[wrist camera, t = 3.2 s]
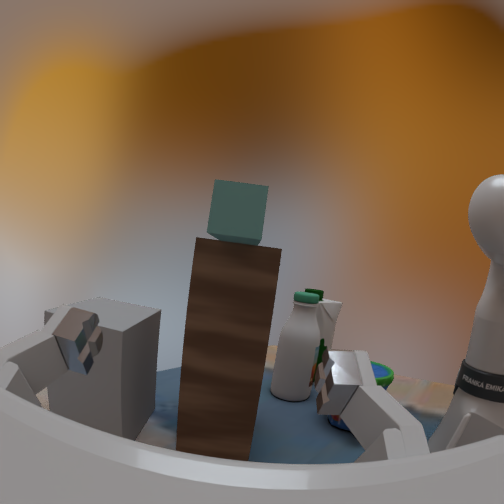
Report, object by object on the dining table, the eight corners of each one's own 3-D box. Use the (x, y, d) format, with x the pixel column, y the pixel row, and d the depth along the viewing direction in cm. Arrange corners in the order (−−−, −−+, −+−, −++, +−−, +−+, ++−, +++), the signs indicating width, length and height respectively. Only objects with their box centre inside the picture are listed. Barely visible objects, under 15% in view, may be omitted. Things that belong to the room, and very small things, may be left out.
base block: (123, 457, 27) (122, 331, 28) (53, 431, 27) (44, 310, 27) (154, 408, 41) (161, 309, 41) (97, 392, 41) (99, 297, 41)
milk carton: (278, 372, 67) (292, 286, 67) (305, 367, 72) (319, 288, 73) (306, 385, 60) (322, 292, 60) (332, 378, 65) (348, 293, 66)
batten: (261, 239, 20) (268, 186, 20) (206, 232, 20) (215, 179, 20) (255, 249, 42) (258, 223, 42) (229, 246, 42) (232, 220, 42)
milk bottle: (299, 406, 50) (319, 297, 50) (262, 393, 54) (278, 290, 54) (315, 393, 56) (333, 295, 56) (281, 383, 60) (296, 289, 61)
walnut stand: (245, 476, 28) (281, 249, 29) (175, 466, 28) (196, 237, 29) (246, 415, 44) (270, 252, 45) (196, 408, 44) (215, 244, 45)
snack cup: (322, 400, 53) (333, 350, 53) (375, 407, 50) (388, 358, 50) (311, 439, 38) (326, 378, 38) (381, 449, 35) (401, 388, 35)
